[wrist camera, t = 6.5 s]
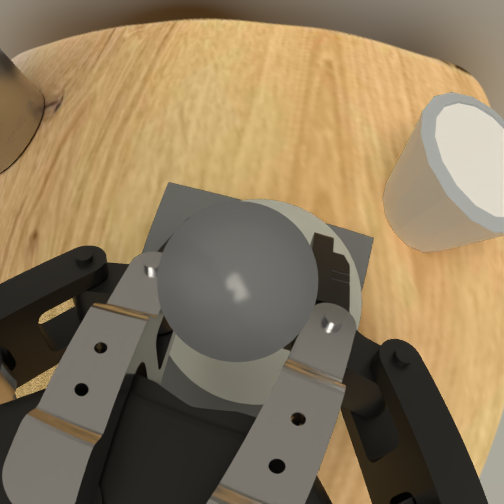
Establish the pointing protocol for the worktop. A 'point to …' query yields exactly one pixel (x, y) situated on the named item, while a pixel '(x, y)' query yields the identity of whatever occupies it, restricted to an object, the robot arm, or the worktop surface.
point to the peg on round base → (242, 293)
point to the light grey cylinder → (449, 177)
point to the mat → (164, 225)
